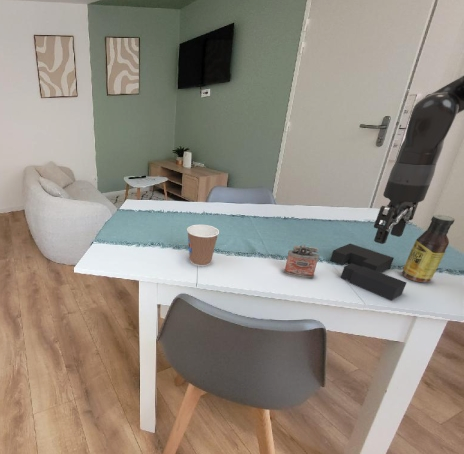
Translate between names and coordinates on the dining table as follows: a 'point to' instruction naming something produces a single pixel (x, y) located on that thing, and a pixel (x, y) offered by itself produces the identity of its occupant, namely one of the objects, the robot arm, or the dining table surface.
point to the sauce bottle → (428, 250)
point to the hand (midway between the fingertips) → (387, 239)
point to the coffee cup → (201, 243)
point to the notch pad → (361, 257)
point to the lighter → (301, 262)
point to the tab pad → (373, 281)
